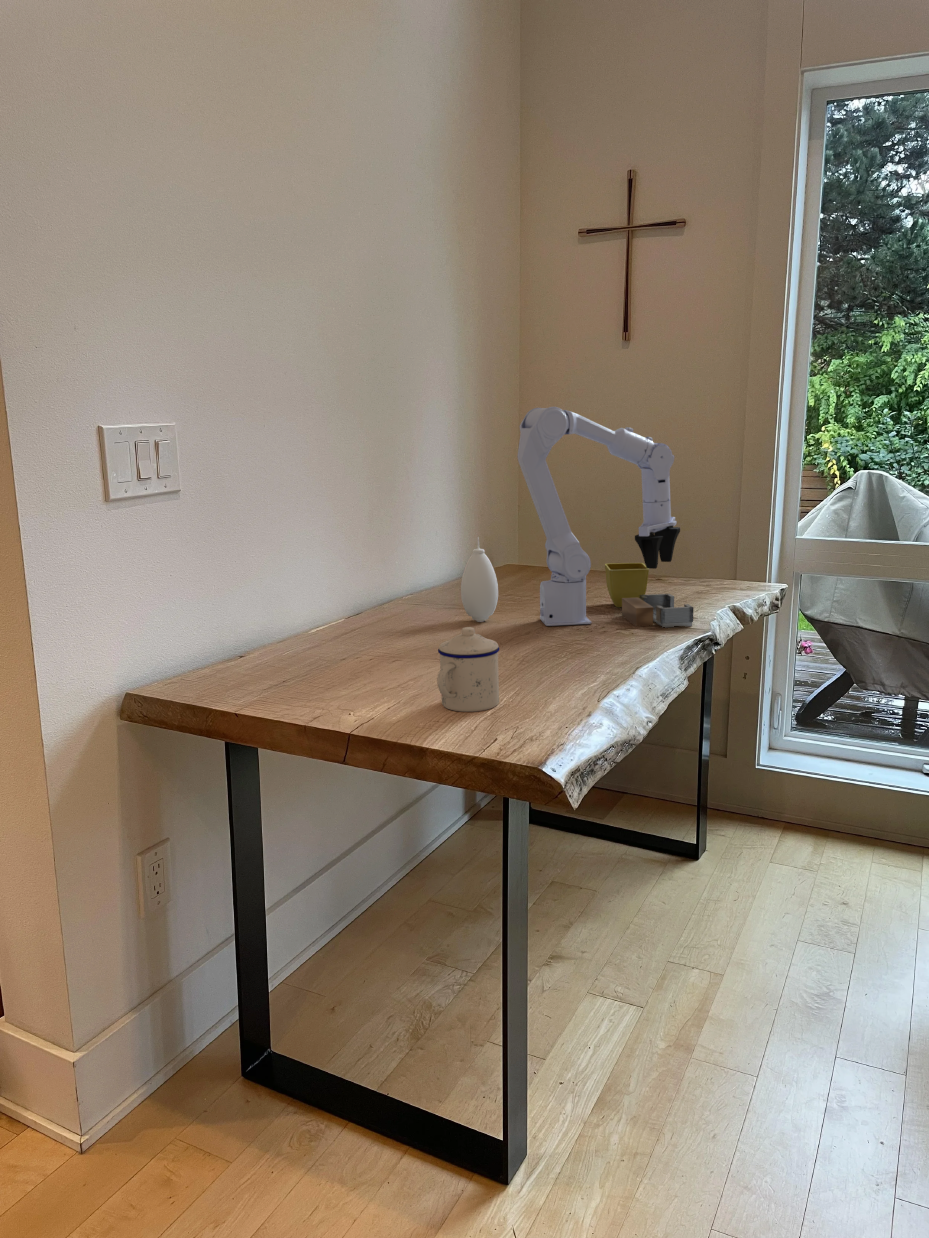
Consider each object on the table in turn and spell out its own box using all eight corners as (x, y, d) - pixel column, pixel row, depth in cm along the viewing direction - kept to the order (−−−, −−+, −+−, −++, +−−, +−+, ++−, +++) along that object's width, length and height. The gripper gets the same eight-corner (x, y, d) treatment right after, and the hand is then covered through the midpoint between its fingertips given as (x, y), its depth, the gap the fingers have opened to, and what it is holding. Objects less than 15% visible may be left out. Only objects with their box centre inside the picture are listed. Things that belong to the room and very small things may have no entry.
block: (636, 627, 189) (636, 608, 188) (621, 616, 199) (622, 598, 198) (653, 626, 189) (653, 607, 188) (637, 615, 200) (638, 597, 199)
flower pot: (649, 608, 205) (649, 568, 204) (609, 609, 206) (609, 569, 204) (642, 601, 214) (642, 562, 212) (604, 602, 214) (604, 563, 212)
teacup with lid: (463, 692, 146) (460, 619, 144) (512, 700, 141) (510, 625, 139) (415, 712, 137) (412, 635, 134) (466, 722, 131) (464, 641, 129)
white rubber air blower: (465, 626, 194) (463, 539, 190) (458, 618, 201) (456, 535, 197) (502, 623, 195) (500, 537, 191) (494, 616, 203) (492, 533, 199)
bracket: (661, 627, 186) (661, 609, 186) (639, 612, 202) (639, 594, 201) (693, 626, 187) (693, 607, 186) (668, 610, 203) (669, 593, 202)
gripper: (660, 505, 187) (663, 571, 190) (687, 496, 199) (690, 559, 202) (628, 505, 191) (631, 570, 194) (656, 496, 203) (659, 558, 206)
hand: (659, 564), depth 198 cm, fingers open, 7 cm apart
